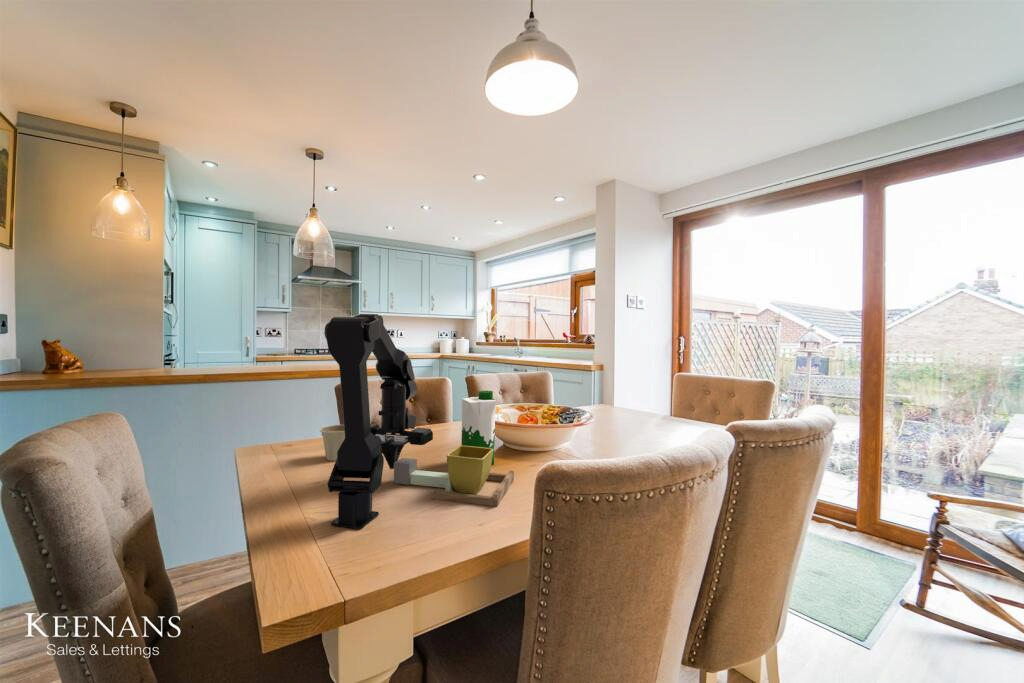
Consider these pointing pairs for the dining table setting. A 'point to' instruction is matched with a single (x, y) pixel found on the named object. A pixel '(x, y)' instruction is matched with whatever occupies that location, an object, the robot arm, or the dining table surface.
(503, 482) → the bay
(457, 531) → the dining table surface
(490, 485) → the dining table surface
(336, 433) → the flower pot
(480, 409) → the milk carton
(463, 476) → the flower pot
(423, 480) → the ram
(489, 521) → the dining table surface
